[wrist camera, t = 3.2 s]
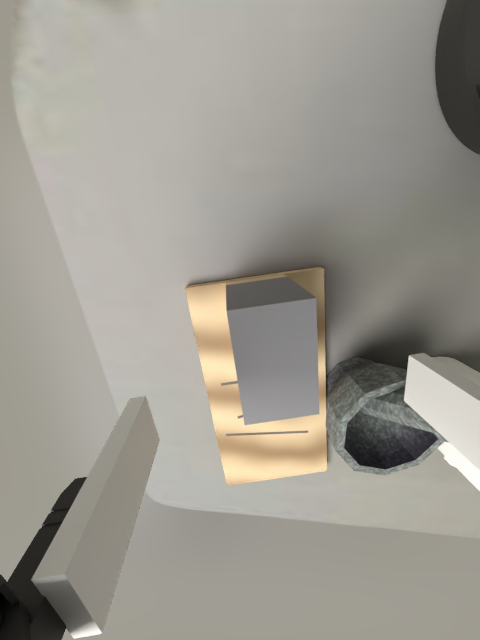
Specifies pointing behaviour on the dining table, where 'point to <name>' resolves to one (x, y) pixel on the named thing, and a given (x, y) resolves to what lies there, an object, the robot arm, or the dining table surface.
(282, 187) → the dining table surface
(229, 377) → the board
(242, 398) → the block
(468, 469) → the mug
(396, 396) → the mortar and pestle
